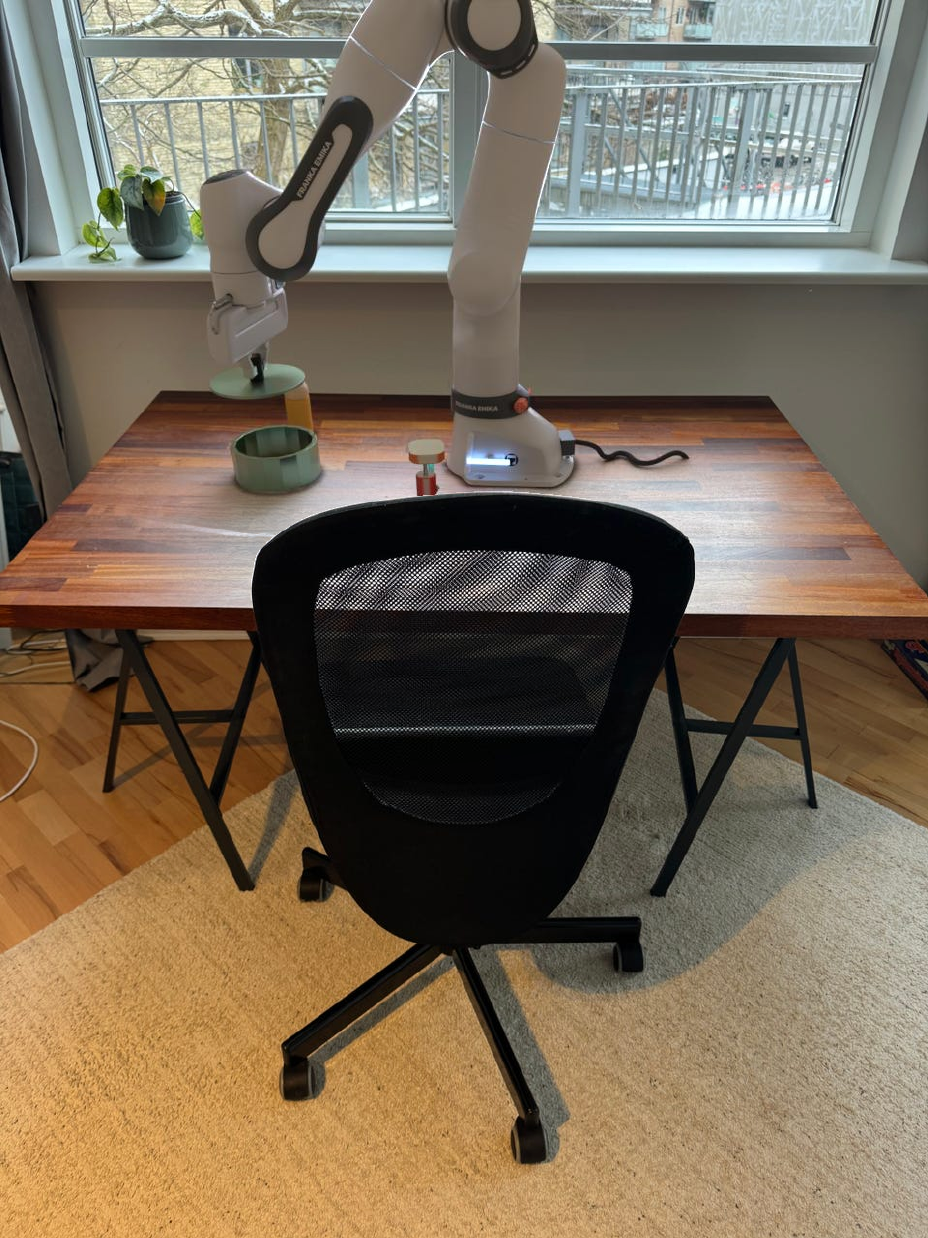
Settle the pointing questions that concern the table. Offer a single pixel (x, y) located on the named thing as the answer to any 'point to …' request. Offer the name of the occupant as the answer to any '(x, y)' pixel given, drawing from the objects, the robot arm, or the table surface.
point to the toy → (299, 407)
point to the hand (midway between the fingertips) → (256, 373)
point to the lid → (257, 381)
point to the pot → (276, 458)
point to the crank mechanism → (426, 454)
